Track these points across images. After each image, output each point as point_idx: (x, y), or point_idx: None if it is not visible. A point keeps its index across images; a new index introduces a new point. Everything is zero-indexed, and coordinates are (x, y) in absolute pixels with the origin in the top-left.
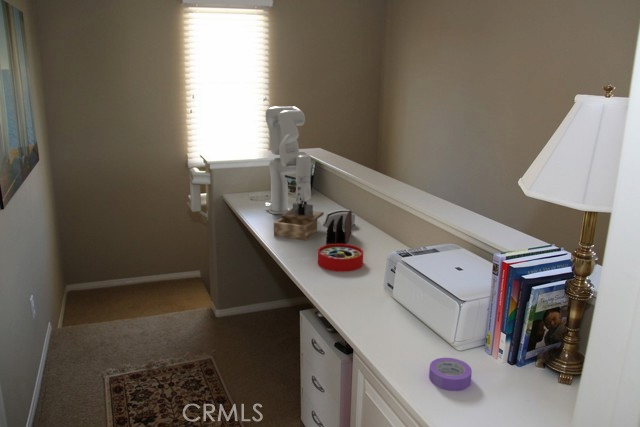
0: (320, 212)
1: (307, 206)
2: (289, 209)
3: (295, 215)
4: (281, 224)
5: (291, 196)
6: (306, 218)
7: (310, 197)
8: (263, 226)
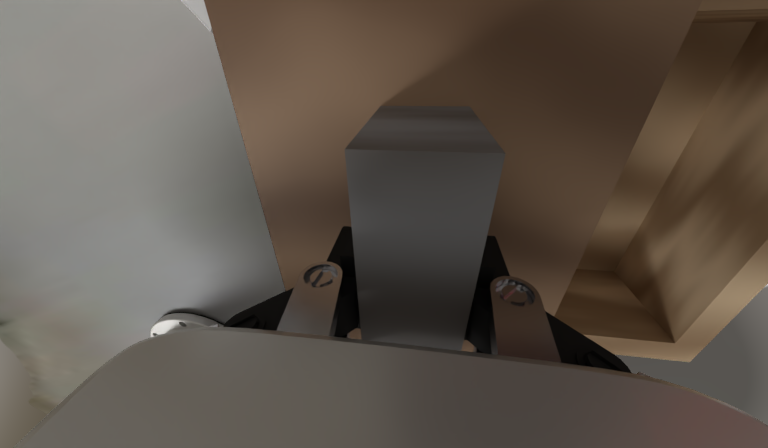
0: (237, 14)
1: (485, 226)
2: (163, 323)
3: (514, 274)
4: (728, 306)
5: (17, 350)
6: (648, 110)
7: (162, 355)
8: None
